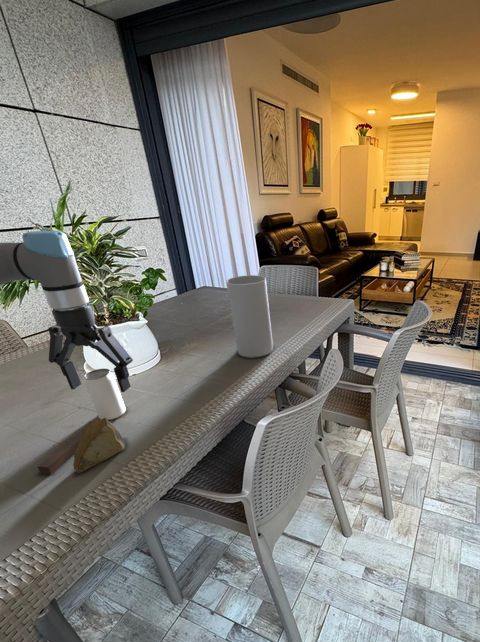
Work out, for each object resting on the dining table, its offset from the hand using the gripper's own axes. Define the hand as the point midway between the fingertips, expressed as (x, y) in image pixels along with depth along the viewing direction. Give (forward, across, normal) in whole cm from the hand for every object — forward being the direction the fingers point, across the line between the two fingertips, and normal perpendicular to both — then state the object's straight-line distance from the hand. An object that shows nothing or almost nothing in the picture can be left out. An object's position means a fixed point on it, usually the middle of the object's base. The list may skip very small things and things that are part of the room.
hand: (101, 388), depth 89 cm
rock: (+8, -9, +16) cm, 20 cm away
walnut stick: (+8, -1, +14) cm, 16 cm away
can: (+8, -1, 0) cm, 8 cm away
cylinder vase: (+8, -28, -41) cm, 50 cm away
